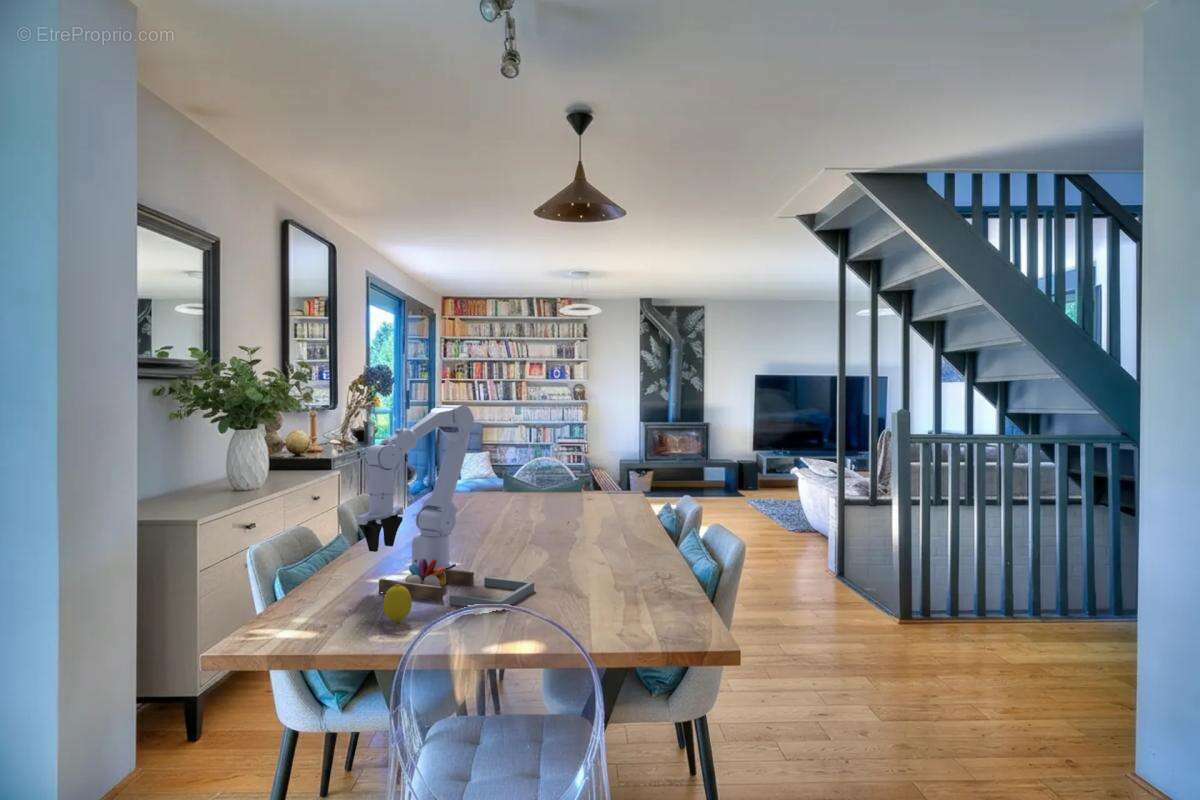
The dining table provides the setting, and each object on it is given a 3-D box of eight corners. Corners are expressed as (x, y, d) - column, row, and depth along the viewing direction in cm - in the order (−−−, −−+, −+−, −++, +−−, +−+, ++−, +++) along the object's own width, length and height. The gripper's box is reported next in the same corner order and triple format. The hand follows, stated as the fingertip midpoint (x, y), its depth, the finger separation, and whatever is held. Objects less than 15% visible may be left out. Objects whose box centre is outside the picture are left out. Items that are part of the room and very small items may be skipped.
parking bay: (449, 604, 147) (449, 595, 147) (486, 584, 162) (486, 576, 162) (500, 611, 142) (500, 602, 142) (534, 590, 157) (534, 582, 157)
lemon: (386, 618, 137) (386, 580, 137) (413, 618, 138) (414, 580, 138) (380, 628, 132) (380, 588, 132) (408, 627, 132) (408, 587, 132)
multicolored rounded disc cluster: (441, 594, 155) (441, 563, 154) (400, 594, 155) (400, 563, 155) (450, 583, 163) (450, 554, 163) (411, 583, 163) (411, 554, 163)
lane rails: (378, 592, 155) (378, 580, 155) (415, 577, 168) (415, 565, 168) (440, 601, 149) (440, 588, 149) (473, 584, 162) (473, 572, 162)
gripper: (374, 498, 155) (374, 556, 155) (413, 490, 168) (413, 543, 169) (350, 497, 157) (350, 554, 157) (390, 488, 171) (390, 541, 171)
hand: (381, 548), depth 163 cm, fingers open, 5 cm apart
